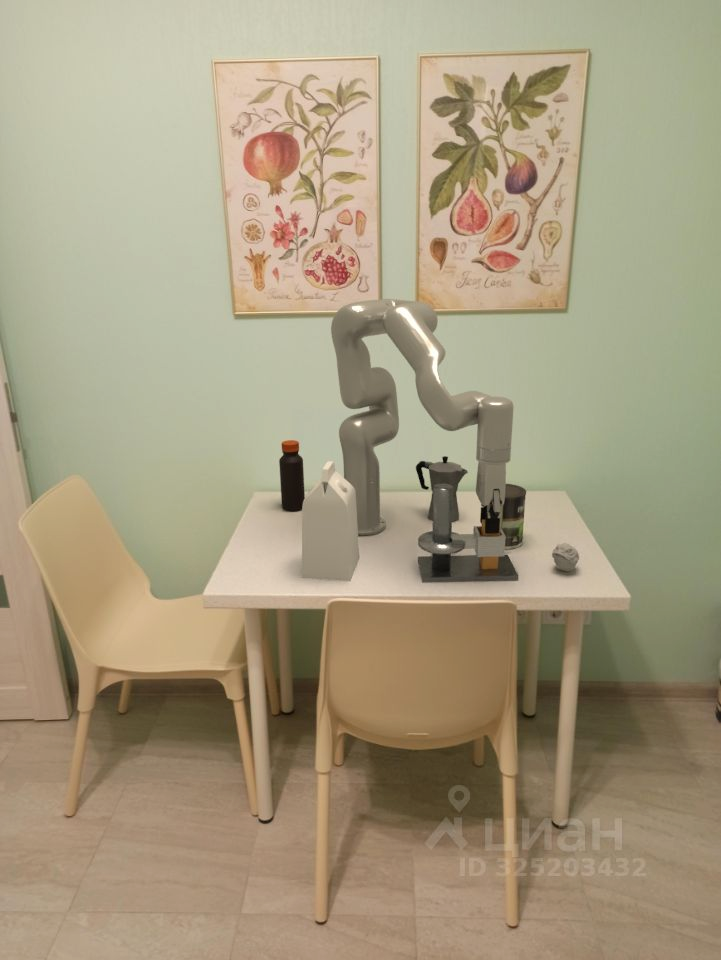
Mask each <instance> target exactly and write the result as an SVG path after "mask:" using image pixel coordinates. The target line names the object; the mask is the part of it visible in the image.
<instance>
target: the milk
mask: <svg viewBox="0 0 721 960" xmlns="http://www.w3.org/2000/svg"><path fill="white" fill-rule="evenodd" d="M321 473H322V474H321V476H322V477H321V478H320V479H319V480H318V481H317V482H316V483H315V484H314V485H313V486H312V487H311V489H310V490H309V491H308V493H307V494H306V495H305V499H304V501H303V506H302V510H301V513H302V515H301V517H302V518H301V520H302V521H301V524H302V525H301V527H302V528H301V578H302V579H312V580H313V579H315V580H327V581H343V582H344V581H345V582H351V581H352V578H353V576H354V573H355V570H356V568H357V565H358V563H359V560H360V547H359V546H360V545H359V535H358V525H357V508H356V492H355V489H354V487H353V486H352V485H351V484H350V483H349V482H348V481H347V480H345V479H344V476H342V475H341V474H340V473H339V472H337V471H336V468H335V461H332V460H331V461H330V460H328V461H327V462H326V464H324V466H323V468H322V472H321Z"/></svg>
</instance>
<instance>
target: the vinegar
mask: <svg viewBox="0 0 721 960" xmlns="http://www.w3.org/2000/svg"><path fill="white" fill-rule="evenodd" d="M299 452H300V442H299V441H298V440H293V439H292V440H291V439H290V440H284V441H281V453H282V455H281V457H279V460H278V461H279V462H278V463H279V464H278V465H279V477H280V494H281V495H280V496H281V497H280V498H281V499H280V500H281V508H282V510H284V511H286V512H300V511H302V506H303V501H304V499H305V497H306V495H305V477H304V476H305V475H304V473H305V472H304V459H303V457H302V456H301V455H300V454H299Z"/></svg>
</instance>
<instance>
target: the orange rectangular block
mask: <svg viewBox="0 0 721 960" xmlns="http://www.w3.org/2000/svg"><path fill="white" fill-rule="evenodd" d="M480 526H481V536H500V528H499V533H498V534H486V533H485V520H482V524H481V525H480ZM479 562H480V565H481V567H482V569H498V556H496V557H480V560H479Z"/></svg>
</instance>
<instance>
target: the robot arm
mask: <svg viewBox="0 0 721 960" xmlns="http://www.w3.org/2000/svg"><path fill="white" fill-rule="evenodd" d="M437 327H438V315H437V313H436V310H435V308H434V307H432V306H431V305H430V304H429V303H427V302H424V301H416V300H405V299H393V298H381V299H374V300H373V299H372V300H363V301H361V300H360V301H355V302H350V303H347V304H346V305H343V306H342V307H340V308H339V309H338V310H337V311H336V312H335V314H334V316H333V318H332V320H331V327H330V331H331V332H330V334H331V335H330V336H331V340H332V345H333V348H334V352H335V356H336V368H337V374H338V375H337V376H338V386H339V393H340V398H341V401H342V404H343V405H344V407H346V408H348V409H349V410H350V409H351V410H360V409H363V408H368V410H367V411H362V412H360V413H359V412H358V413H355V414H352V415H350V416H348V417H346V418H345V419H344V420H343V421H342V422H341V424H340V426H339V428H338V429H339V430H338V438H339V442H340V447H341V452H342V460H343V478H344V479H345V480H347V481H348V482H349V483H350V484H351V485H352V486H353V487H354V489H355V492H356V508H357V525H358V536H371V535H375V534H379V533H381V532H382V531H384V530H385V529H386V527H387V523H386V520H385V519H383V517H381V516H380V515H381V495H380V494H381V491H380V489H381V485H380V483H381V480H380V478H381V475H380V474H381V472H380V461H379V459H378V457H377V455H376V452H375V450H374V449H375V447H377V446H380V445H384V444H386V443H389V442H391V441H393V440H394V439H395V438H396V437H397V435H398V433H399V428H400V418H399V405H398V395H397V392H398V391H397V387H396V386H397V385H396V383H395V379H394V378H393V375H392V374H391V372H389V370H388V369H386V368H383V367H380V366H379V367H378V366H376V367H375V366H373V367H372V365H371V354H370V351H369V349H368V346H367V345H366V343H365V342H364V340H363V338H366V337H373V336H379V335H385V334H386V335H387V336H388V337H389V339H390V340H391V341H392V343H393V344H394V346H395V347H396V348H397V350H399V352H400V353H401V354H402V356H403V358H404V359H405V360H406V361H407V363H408V364H409V366H410V367H411V368H412V370H413V371H414V375H415V376H414V378H415V381H414V382H415V386H416V387H415V388H416V392H417V397H418V399H419V402H420V404H421V406H422V407H423V408H424V409H425V411H426V412H427V414H428V415H429V417H431V419H432V421H434V422H435V424H436V425H437V426H439V427H440V428H441V429H443V430H445V431H448V432H455V431H460V430H462V429H465V428H466V427H470V426H474V425H477V432H476V434H477V435H476V452H475V453H476V454H475V455H476V456H475V459H476V461H477V462H478V464H477V474H476V482H475V483H476V484H475V494H476V496H477V499H478V500H479V502H480V506H481V507H480V520H479V522H480V524H481V525H482V520H485V533H486V534H498V533H499V528H500V505H501V506H502V505H503V504H504V500H505V485H506V484H507V482H506V477H507V470H506V469H507V465H506V464H508V463H509V462H511V456H512V453H511V452H512V437H513V424H514V423H513V420H514V403H513V401H512V400H511V399H510V398H507V397H503V396H491V395H489V394H486V393H483V392H481V391H477V390H469V391H464V392H462V393H458V394H455V395H451V394H450V392H449V391H448V389H446V387H445V385H444V384H443V382H442V380H441V378H440V376H439V366H440V364H441V363H442V362H443V360H444V359H445V356H446V349H445V348H444V346H443V345H442V344H441V342H440V341H439V340H438V339H437V337H436V336H435V335H434V332H435V331H436V330H437Z"/></svg>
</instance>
